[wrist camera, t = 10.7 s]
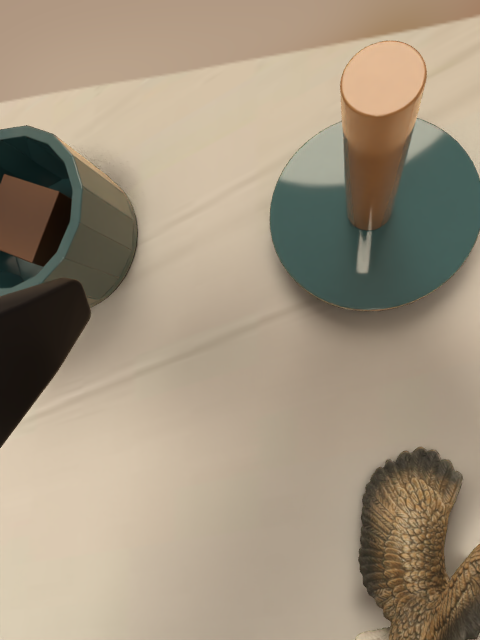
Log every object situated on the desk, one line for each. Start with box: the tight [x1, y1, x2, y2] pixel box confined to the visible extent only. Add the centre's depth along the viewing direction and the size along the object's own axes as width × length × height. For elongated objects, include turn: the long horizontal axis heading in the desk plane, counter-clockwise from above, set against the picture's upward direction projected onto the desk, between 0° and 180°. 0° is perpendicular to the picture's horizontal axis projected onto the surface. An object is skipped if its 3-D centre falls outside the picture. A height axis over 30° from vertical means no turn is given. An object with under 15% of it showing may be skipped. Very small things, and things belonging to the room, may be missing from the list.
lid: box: [270, 41, 480, 311], centre depth 16 cm, size 10×10×11 cm
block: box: [0, 174, 72, 267], centre depth 23 cm, size 4×4×4 cm
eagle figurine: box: [355, 447, 480, 640], centre depth 16 cm, size 8×7×9 cm
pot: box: [0, 125, 137, 308], centre depth 23 cm, size 9×9×5 cm
